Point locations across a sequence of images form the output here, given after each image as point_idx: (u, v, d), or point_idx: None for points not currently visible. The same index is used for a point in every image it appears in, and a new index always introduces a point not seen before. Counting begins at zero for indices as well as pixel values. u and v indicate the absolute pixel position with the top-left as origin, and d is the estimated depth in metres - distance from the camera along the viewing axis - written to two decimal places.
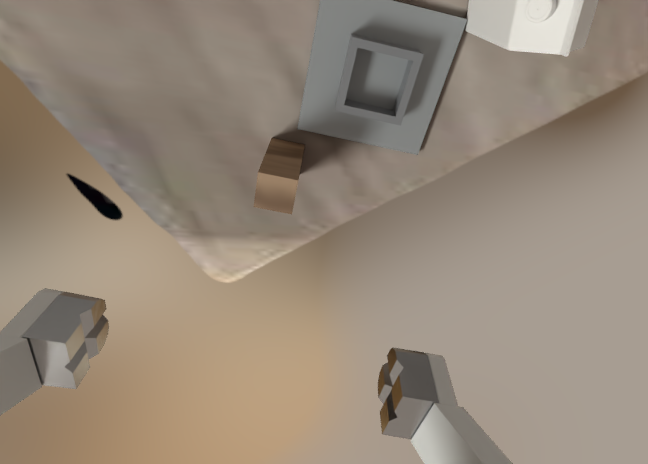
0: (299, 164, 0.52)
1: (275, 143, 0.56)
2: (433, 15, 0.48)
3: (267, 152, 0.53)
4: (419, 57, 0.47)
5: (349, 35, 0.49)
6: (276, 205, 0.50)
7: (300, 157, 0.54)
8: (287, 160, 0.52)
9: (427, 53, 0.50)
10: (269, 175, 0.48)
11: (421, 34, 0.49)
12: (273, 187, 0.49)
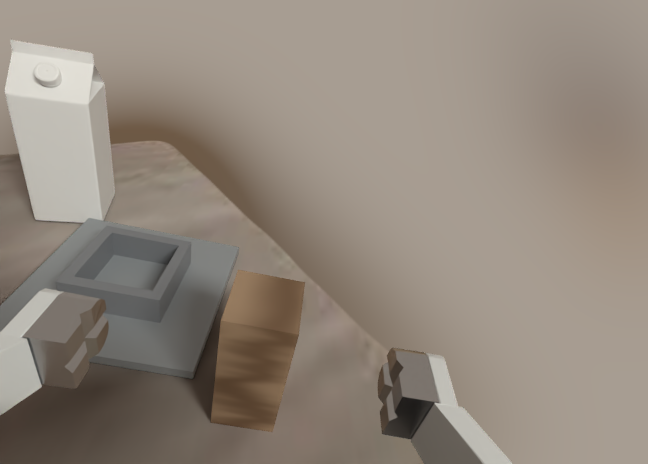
0: None
1: None
2: (73, 238, 0.43)
3: (215, 378, 0.28)
4: (109, 228, 0.41)
5: None
6: (290, 300, 0.27)
7: None
8: None
9: None
10: (228, 305, 0.26)
11: None
12: (252, 301, 0.26)
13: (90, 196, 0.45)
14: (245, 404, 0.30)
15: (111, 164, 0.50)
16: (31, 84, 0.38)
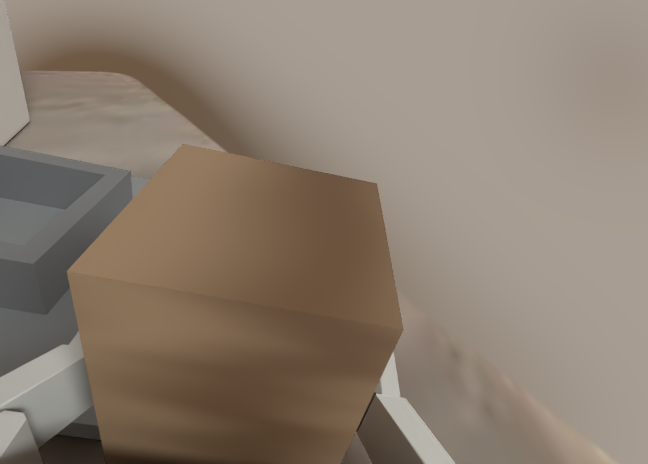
0: None
1: None
2: None
3: None
4: None
5: None
6: (345, 220, 0.08)
7: None
8: None
9: None
10: (120, 222, 0.07)
11: None
12: (218, 217, 0.07)
13: None
14: None
15: (16, 66, 0.31)
16: None
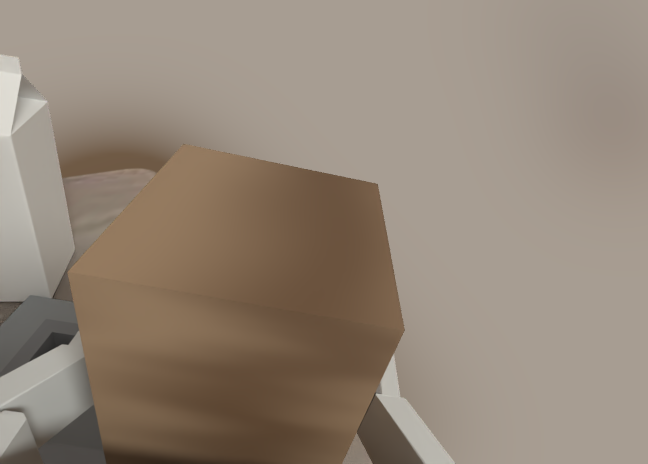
0: None
1: None
2: None
3: None
4: (49, 324, 0.27)
5: None
6: (346, 220, 0.08)
7: None
8: None
9: None
10: (121, 222, 0.07)
11: None
12: (219, 217, 0.07)
13: (29, 266, 0.31)
14: None
15: (66, 213, 0.36)
16: None
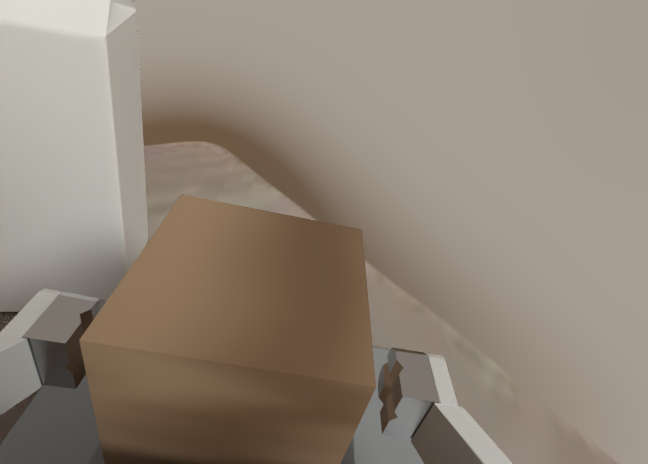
0: None
1: None
2: None
3: None
4: None
5: None
6: (330, 272, 0.09)
7: None
8: None
9: None
10: (125, 285, 0.07)
11: None
12: (213, 275, 0.08)
13: (106, 260, 0.20)
14: None
15: (144, 185, 0.25)
16: None
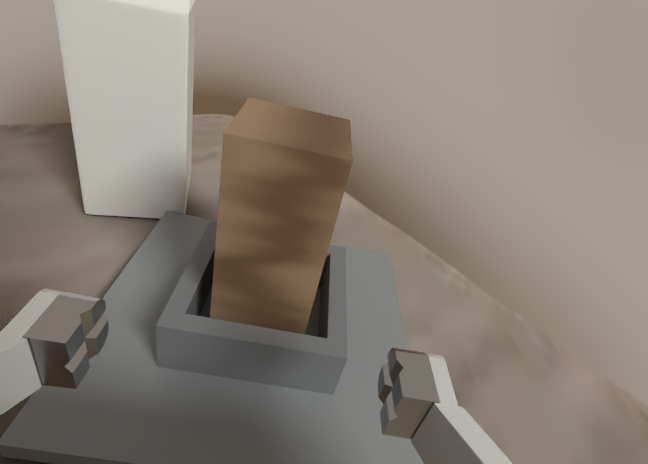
0: None
1: None
2: (150, 243, 0.27)
3: None
4: (215, 225, 0.25)
5: (161, 369, 0.19)
6: (332, 130, 0.17)
7: None
8: None
9: None
10: (235, 121, 0.16)
11: (180, 255, 0.26)
12: (274, 124, 0.17)
13: (172, 176, 0.29)
14: (260, 307, 0.20)
15: (191, 132, 0.34)
16: None
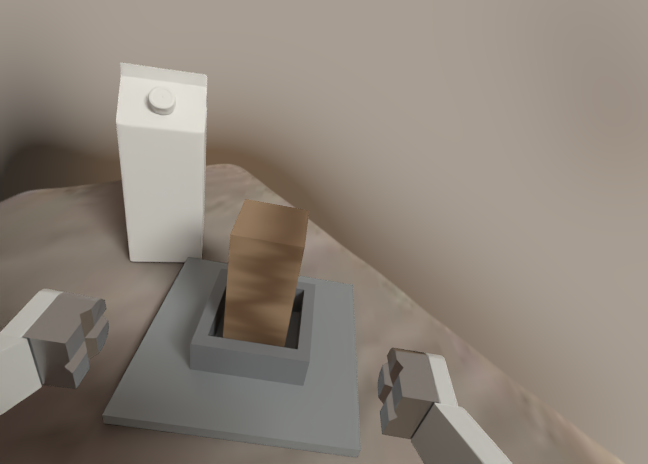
0: None
1: None
2: (179, 283, 0.38)
3: (225, 302, 0.30)
4: (224, 272, 0.36)
5: (192, 370, 0.30)
6: (295, 223, 0.29)
7: None
8: None
9: None
10: (236, 223, 0.27)
11: (200, 291, 0.38)
12: (260, 222, 0.28)
13: (192, 233, 0.40)
14: (254, 330, 0.31)
15: (204, 195, 0.45)
16: (143, 112, 0.33)
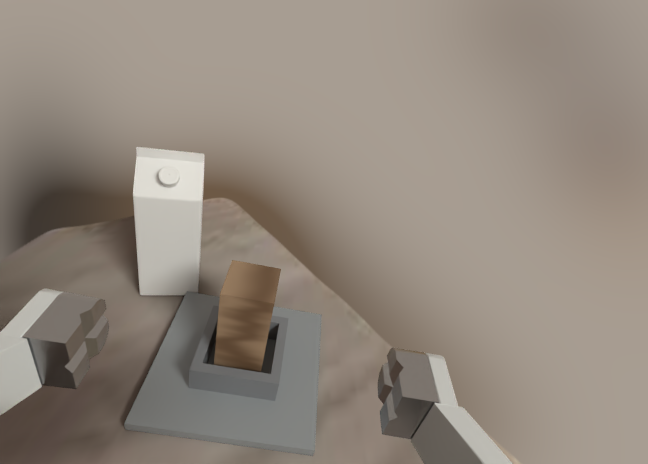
0: None
1: None
2: (179, 315, 0.48)
3: None
4: (216, 308, 0.46)
5: (190, 389, 0.40)
6: (269, 281, 0.38)
7: None
8: None
9: None
10: (225, 284, 0.37)
11: (196, 322, 0.47)
12: (242, 281, 0.37)
13: (191, 273, 0.50)
14: (238, 359, 0.41)
15: None
16: (154, 185, 0.43)
